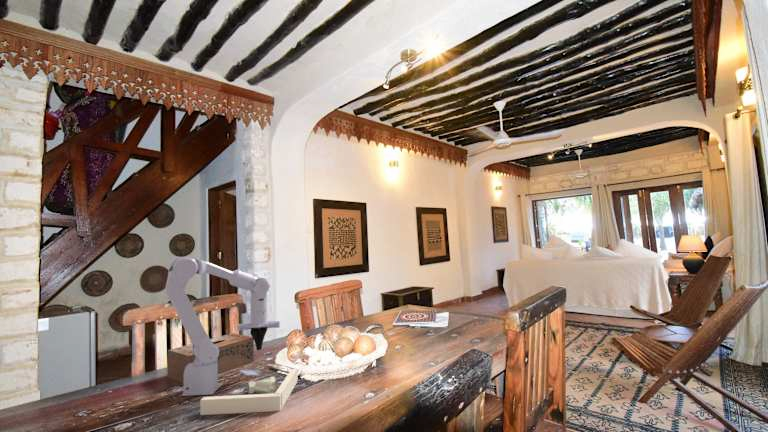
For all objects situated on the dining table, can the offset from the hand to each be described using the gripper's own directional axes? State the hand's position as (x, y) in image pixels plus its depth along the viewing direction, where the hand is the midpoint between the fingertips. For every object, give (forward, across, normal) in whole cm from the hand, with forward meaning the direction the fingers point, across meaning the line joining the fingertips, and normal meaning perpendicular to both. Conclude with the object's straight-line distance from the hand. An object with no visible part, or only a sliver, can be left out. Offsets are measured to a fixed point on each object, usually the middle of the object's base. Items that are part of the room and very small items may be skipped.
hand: (259, 349), depth 123 cm
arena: (+9, +2, -18) cm, 20 cm away
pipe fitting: (+10, +4, -15) cm, 19 cm away
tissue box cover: (+10, -20, +12) cm, 25 cm away
